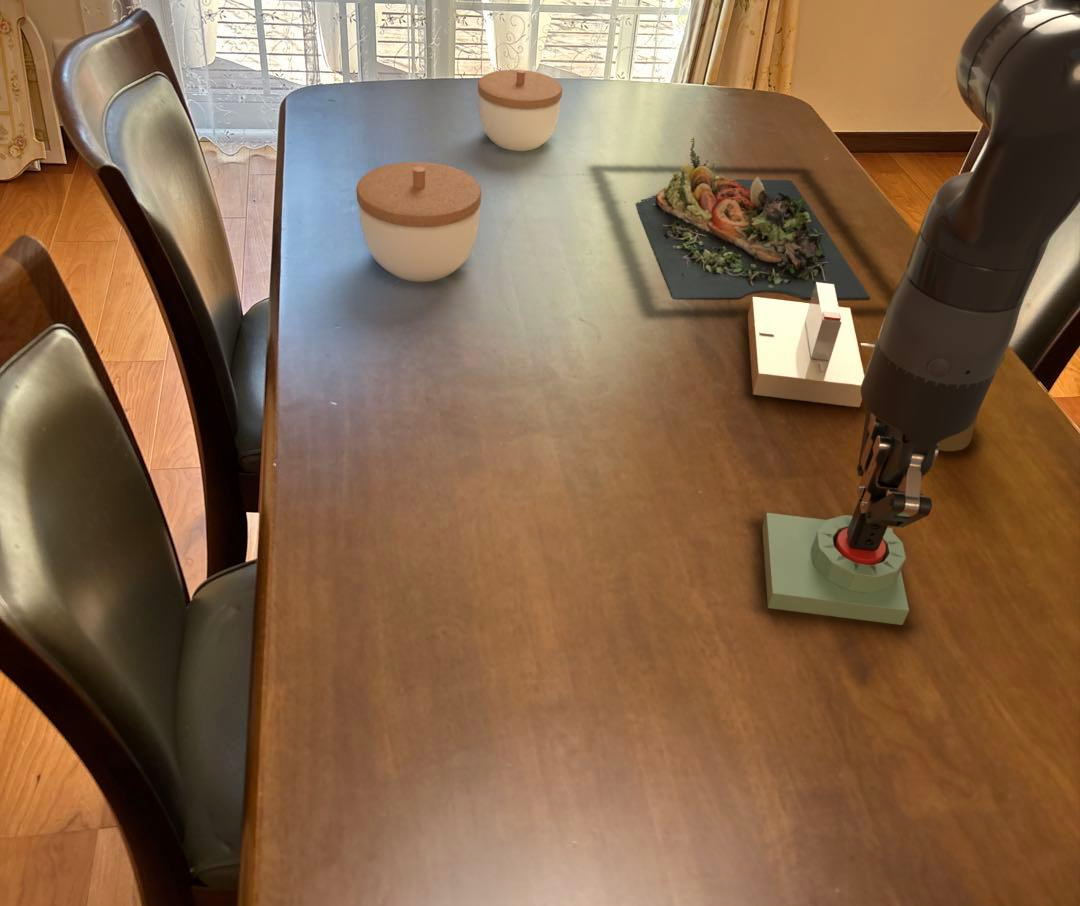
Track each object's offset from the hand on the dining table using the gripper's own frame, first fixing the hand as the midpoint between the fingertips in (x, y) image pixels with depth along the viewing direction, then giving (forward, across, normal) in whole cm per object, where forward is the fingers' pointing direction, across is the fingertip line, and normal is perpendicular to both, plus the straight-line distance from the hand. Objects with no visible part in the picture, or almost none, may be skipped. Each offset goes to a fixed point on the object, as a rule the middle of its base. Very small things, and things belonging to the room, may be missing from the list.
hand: (861, 543), depth 77 cm
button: (+2, 0, 0) cm, 2 cm away
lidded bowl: (+4, +40, +41) cm, 58 cm away
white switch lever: (+1, +30, 0) cm, 30 cm away
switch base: (+4, +30, +1) cm, 30 cm away
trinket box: (+4, +75, +35) cm, 83 cm away
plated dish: (+4, +55, +7) cm, 56 cm away
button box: (+4, 0, +1) cm, 4 cm away
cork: (+4, +21, -10) cm, 24 cm away
